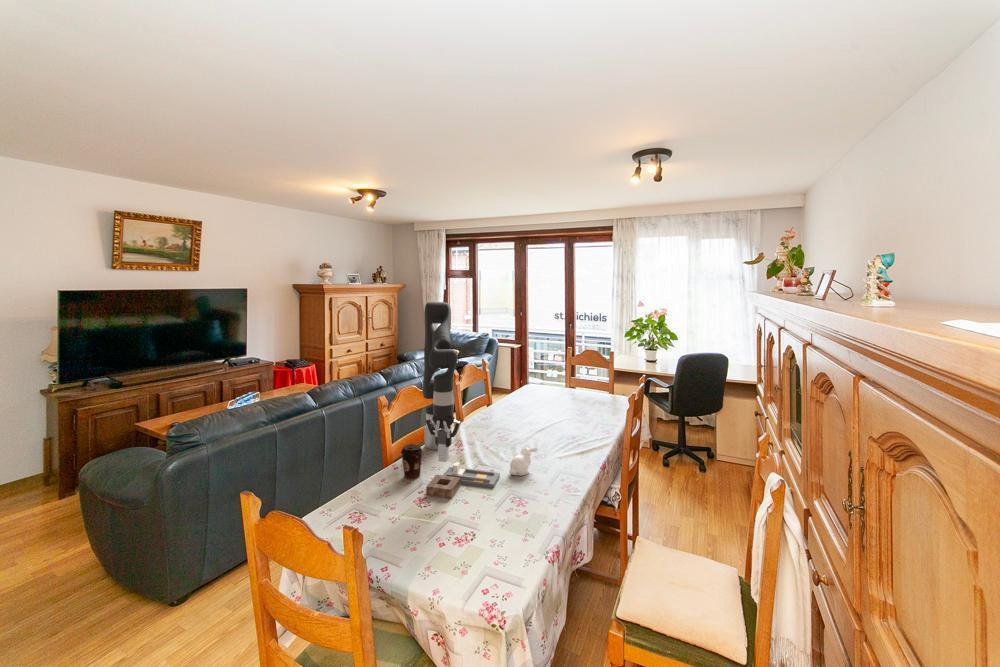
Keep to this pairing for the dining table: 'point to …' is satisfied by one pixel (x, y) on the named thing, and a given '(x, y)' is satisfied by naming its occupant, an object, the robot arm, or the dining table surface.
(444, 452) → the pin tool
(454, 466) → the switch slider
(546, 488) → the dining table surface
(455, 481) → the brown wooden socket block
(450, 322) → the robot arm
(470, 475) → the switch panel
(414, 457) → the coffee cup
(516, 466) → the rabbit
